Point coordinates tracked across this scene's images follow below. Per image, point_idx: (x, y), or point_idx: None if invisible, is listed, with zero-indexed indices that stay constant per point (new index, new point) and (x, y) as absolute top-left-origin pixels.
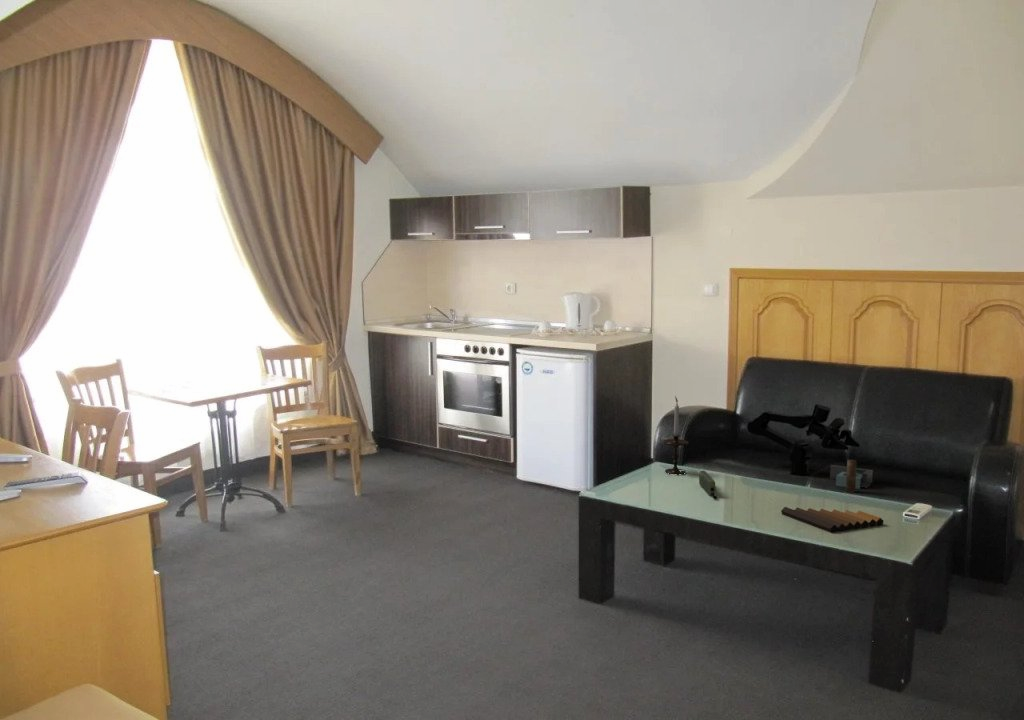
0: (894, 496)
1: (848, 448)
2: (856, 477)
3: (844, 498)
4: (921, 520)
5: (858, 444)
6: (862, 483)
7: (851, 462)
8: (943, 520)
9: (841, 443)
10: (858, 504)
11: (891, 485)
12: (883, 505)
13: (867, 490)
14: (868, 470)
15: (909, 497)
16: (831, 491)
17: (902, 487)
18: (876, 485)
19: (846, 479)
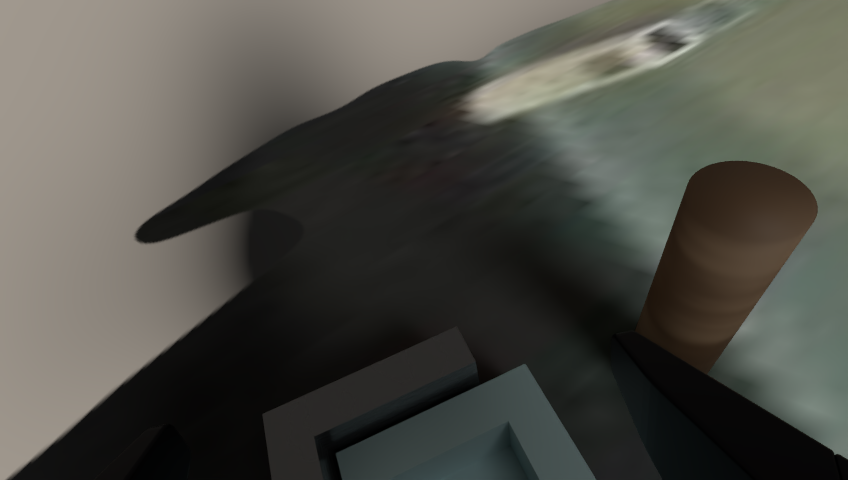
0: (483, 202)
1: (621, 341)
2: (516, 409)
3: (835, 265)
4: (671, 11)
5: (157, 443)
6: None
7: (779, 182)
8: (596, 6)
9: (818, 444)
10: (810, 164)
11: (259, 357)
12: (674, 127)
13: (513, 338)
14: (310, 421)
15: (435, 173)
16: (845, 447)
17: (264, 299)
18: None
19: (725, 347)
